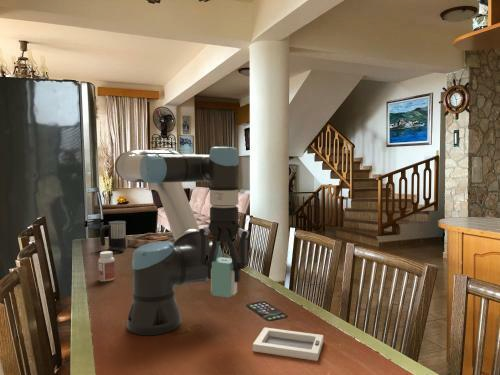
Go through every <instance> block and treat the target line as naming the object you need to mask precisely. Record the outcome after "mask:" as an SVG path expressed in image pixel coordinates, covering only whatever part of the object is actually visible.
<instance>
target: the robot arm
mask: <svg viewBox="0 0 500 375" xmlns="http://www.w3.org/2000/svg"><path fill="white" fill-rule="evenodd" d="M239 165H240V160H239V149H238V148H237V147H233V146H212V147H211V148H210V150H209V154H206V153H205V154H181V153H179V152H178V151H176V150H171V149H164V150H160V149H159V150H157V149H132V150H128V151H125V152H123V153H120V154H119V155H118V156H117V158H116V159H115V162H114V170H115V173H116V175H117V176H118V177H119V178H120V179H122V180H124V181H127V182H130V183H145V184H146V183H148V184H149V183H150V186H151V188H152V190H154V191H156V192H157V193H158V195H159V198H160V202H161V204H162V207H163V211H164V213H165V216H166V220H167V221H168V225H169V227H170V228H169V229H170V230H171V232H172V234H173V236H174V239H175V241H174V243H172V242H170V241H162V242H153V243H148V244H145V245H142V246H140V247H136V249H135V250H134V251H133V253H132V261H131V269H132V303H131V306H130V308H129V311H128V315H127V319H126V329H127V331H128V332H130V333H132V334H134V335H140V336H157V335H162V334H165V333H170V332H172V331H174V330H176V329H177V328H179V327H180V326H181V324H182V315H181V312H180V309H179V308H180V307H179V306H178V302H177V300H176V296H175V287H177V286H182V285H189V284H193V283H200V282H207V281H209V280H210V294H212V261H214V260H216V259H217V258H219V257H222V258H223V252H222V248H221V242H226V244H227V247H228V250H229V253H230V254H229V255H230V258H231V259H232V263H233V267H234V269H233V270H231V295H232V296H235V295H236V293H238V283H239V282H240V281H241V272H242V271H241V270H244V269H245V268H247V267H248V265H249V264H248V256H249V255H248V238H249V235H250V230H249V229H243V228H241V227H240V223H239V207H238V205H239V182H240V181H239V177H240V174H239V173H240V172H239V171H240V170H239V169H240V166H239ZM186 182H187V183H194V182H195V183H196V182H197V183H198V182H200V183H201V182H209V205H211V206H210V207H209V224H208V226H205V227H201V228H200V226H199V224H198V222H197V219H196V217H195V215H194V214H195V213H194V211H193V209H192V207H191V204H190V201H189V199H188V196H187V194H186V192H185V189H184V187H183V184H182V183H186ZM210 233H211V235H212V236H213V237H212V240H210ZM237 235H238V237H239V238H240V240H239V252H238V247H237V240H236V236H237ZM239 253H240V254H239Z"/></svg>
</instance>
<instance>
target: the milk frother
mask: <svg viewBox="0 0 500 375" xmlns="http://www.w3.org/2000/svg"><path fill="white" fill-rule="evenodd" d="M126 224H127V222H126V221H125V220H113V221H108V224H106V225H102V226H101V227H100V229H99V241H100V246H102V247H105V245H106V237H105V236H106V235H105V232H106V230H108V250H109V251H115V252H118V253H121V252H125V249H127V242H126V241H127V240H126V239H127V238H126V237H127V236H126V235H127V234H126V233H127V232H126V230H127V229H126Z"/></svg>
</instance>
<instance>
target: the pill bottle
mask: <svg viewBox="0 0 500 375" xmlns="http://www.w3.org/2000/svg"><path fill="white" fill-rule="evenodd" d="M113 256H114V255H113V250H105V251H101V252H99V259H98V261H97V262H98V263H97V265H98V280H99V282H111V281H113V280H115V278H116V264H115V260H116V259H115V257H113Z"/></svg>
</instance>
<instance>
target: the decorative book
mask: <svg viewBox="0 0 500 375" xmlns="http://www.w3.org/2000/svg"><path fill="white" fill-rule="evenodd" d="M160 234H161V235H156V236H147V237H144V240H148V241H167V240H170V239H173V238H171V237H168V236H165V235H162V234H163V233H160Z"/></svg>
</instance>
